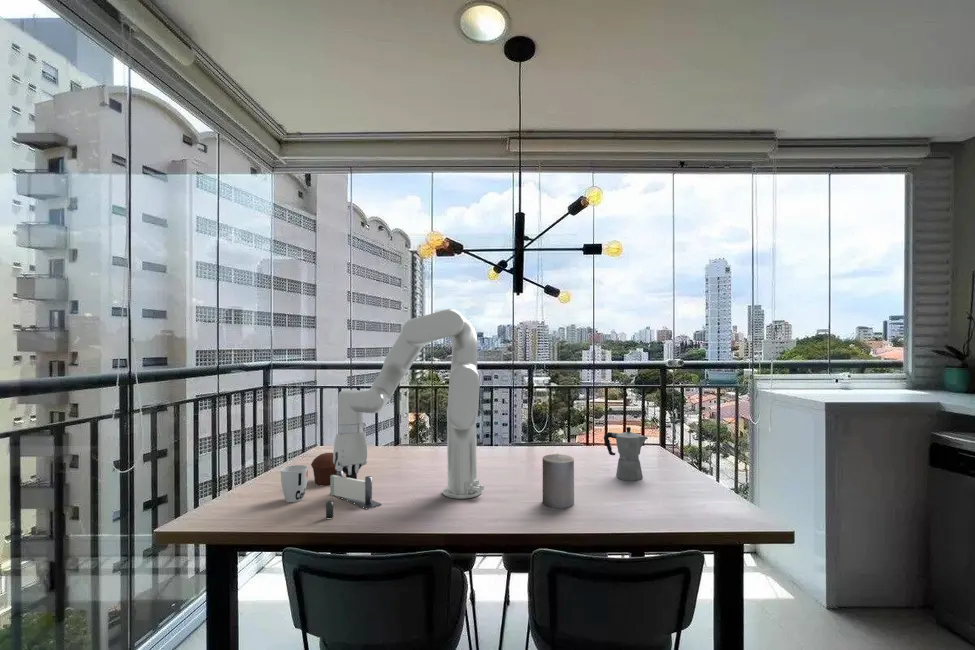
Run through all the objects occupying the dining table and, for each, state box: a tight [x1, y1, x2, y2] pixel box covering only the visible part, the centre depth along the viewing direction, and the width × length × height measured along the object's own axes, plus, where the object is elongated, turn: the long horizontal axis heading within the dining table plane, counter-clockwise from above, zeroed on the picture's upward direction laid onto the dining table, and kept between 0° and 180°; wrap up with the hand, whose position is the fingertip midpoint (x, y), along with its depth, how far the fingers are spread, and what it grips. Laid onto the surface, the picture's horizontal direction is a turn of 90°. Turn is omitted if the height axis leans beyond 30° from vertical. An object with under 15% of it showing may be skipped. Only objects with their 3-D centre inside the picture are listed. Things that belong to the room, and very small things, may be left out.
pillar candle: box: [542, 453, 575, 509], centre depth 150 cm, size 10×10×15 cm
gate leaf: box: [329, 475, 365, 502], centre depth 153 cm, size 14×1×6 cm, turn 60°
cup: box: [280, 464, 309, 503], centre depth 155 cm, size 8×8×10 cm
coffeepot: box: [603, 426, 649, 482], centre depth 177 cm, size 15×9×18 cm, turn 67°
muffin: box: [310, 452, 337, 486], centre depth 174 cm, size 12×11×10 cm
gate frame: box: [325, 471, 382, 519], centre depth 150 cm, size 22×17×8 cm
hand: (351, 486), depth 157 cm, fingers closed
